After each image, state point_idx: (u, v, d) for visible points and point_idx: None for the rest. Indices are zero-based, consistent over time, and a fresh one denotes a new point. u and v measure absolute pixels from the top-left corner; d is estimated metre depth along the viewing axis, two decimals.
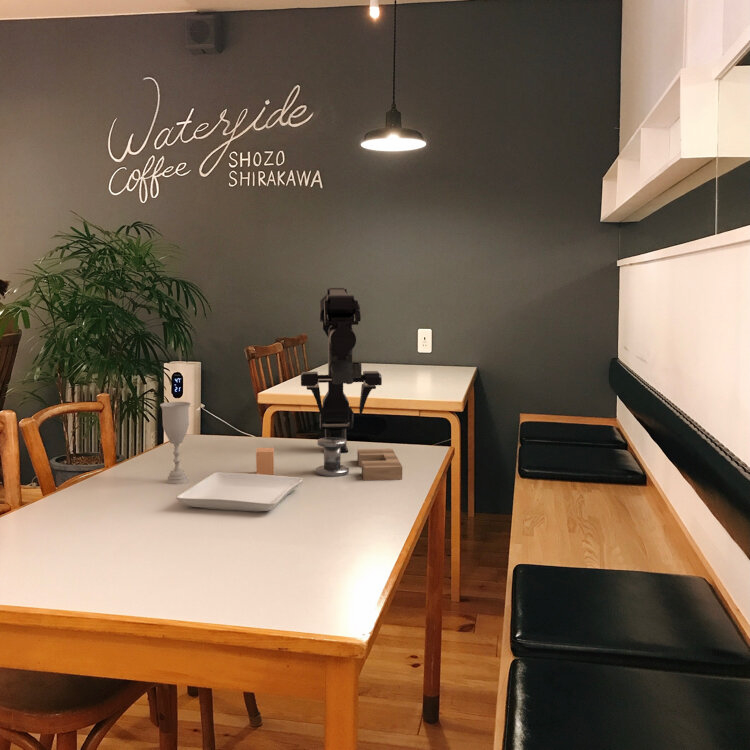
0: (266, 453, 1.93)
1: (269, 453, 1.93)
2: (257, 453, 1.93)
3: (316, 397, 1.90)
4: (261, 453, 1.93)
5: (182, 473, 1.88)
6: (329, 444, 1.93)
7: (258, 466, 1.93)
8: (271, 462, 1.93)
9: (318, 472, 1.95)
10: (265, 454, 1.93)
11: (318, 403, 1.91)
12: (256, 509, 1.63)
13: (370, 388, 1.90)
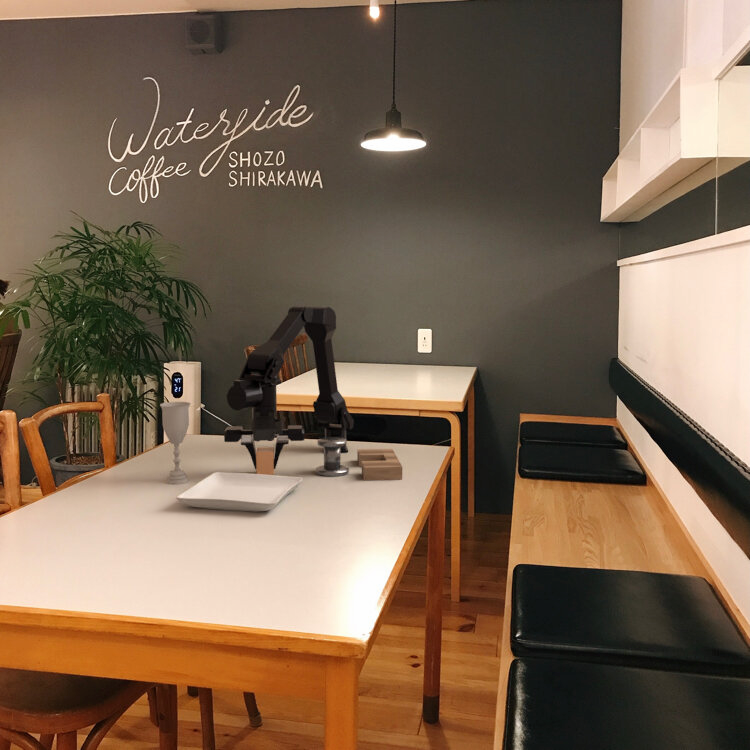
0: (266, 453, 1.93)
1: (269, 453, 1.93)
2: (257, 453, 1.93)
3: (250, 452, 1.94)
4: (261, 453, 1.93)
5: (182, 473, 1.88)
6: (329, 444, 1.93)
7: (258, 465, 1.93)
8: (271, 462, 1.93)
9: (318, 472, 1.95)
10: (265, 454, 1.93)
11: (252, 458, 1.94)
12: (256, 509, 1.63)
13: (282, 444, 1.93)
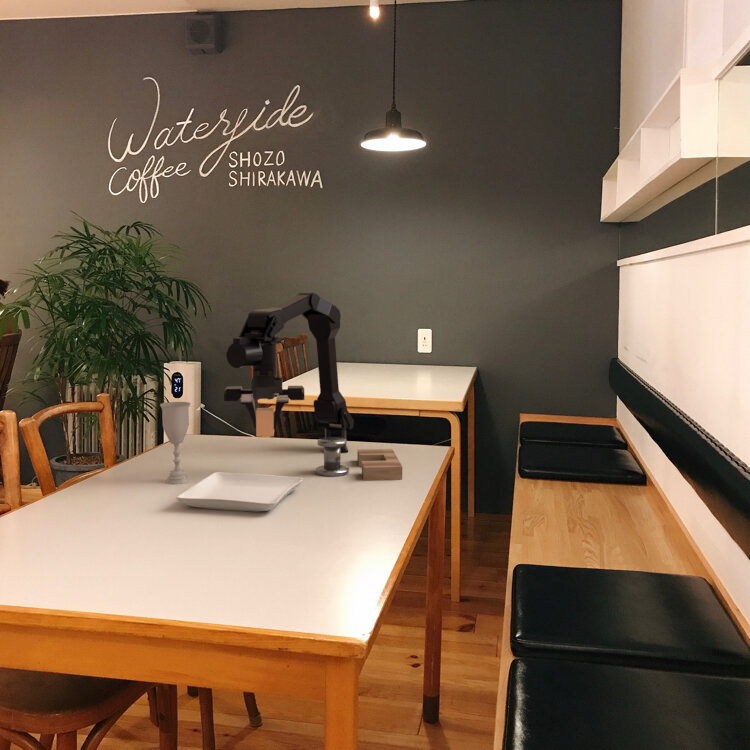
0: (266, 412, 1.92)
1: (269, 412, 1.92)
2: (257, 412, 1.92)
3: (250, 411, 1.93)
4: (261, 412, 1.92)
5: (182, 473, 1.88)
6: (329, 444, 1.93)
7: (258, 425, 1.92)
8: (271, 421, 1.92)
9: (318, 472, 1.95)
10: (265, 413, 1.92)
11: (252, 417, 1.93)
12: (256, 509, 1.63)
13: (282, 403, 1.92)
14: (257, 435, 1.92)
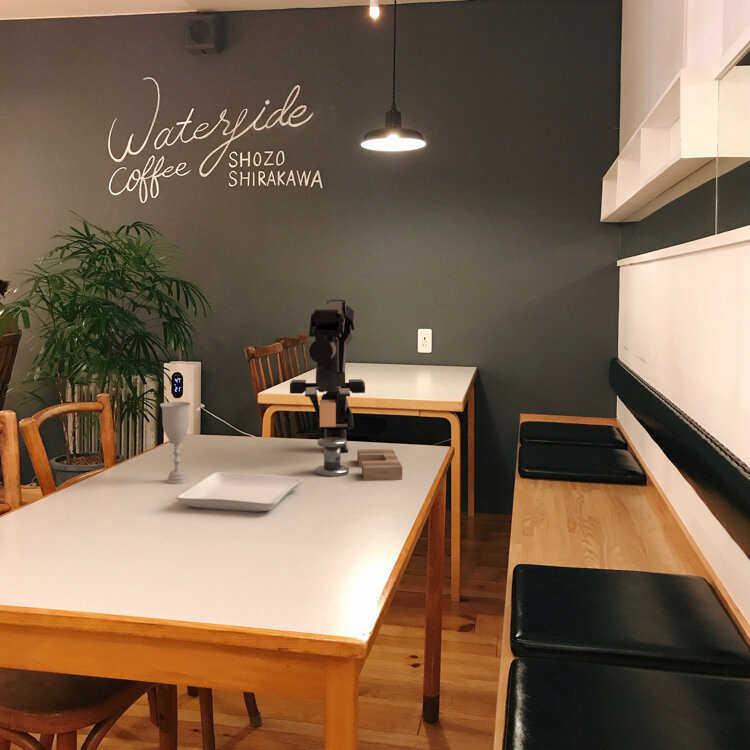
0: (329, 404, 2.04)
1: (332, 404, 2.04)
2: (320, 404, 2.04)
3: (314, 403, 2.05)
4: (324, 404, 2.04)
5: (182, 473, 1.88)
6: (329, 444, 1.93)
7: (321, 416, 2.04)
8: (333, 413, 2.04)
9: (318, 472, 1.95)
10: (328, 405, 2.04)
11: (316, 409, 2.05)
12: (256, 509, 1.63)
13: (344, 395, 2.04)
14: (320, 425, 2.04)
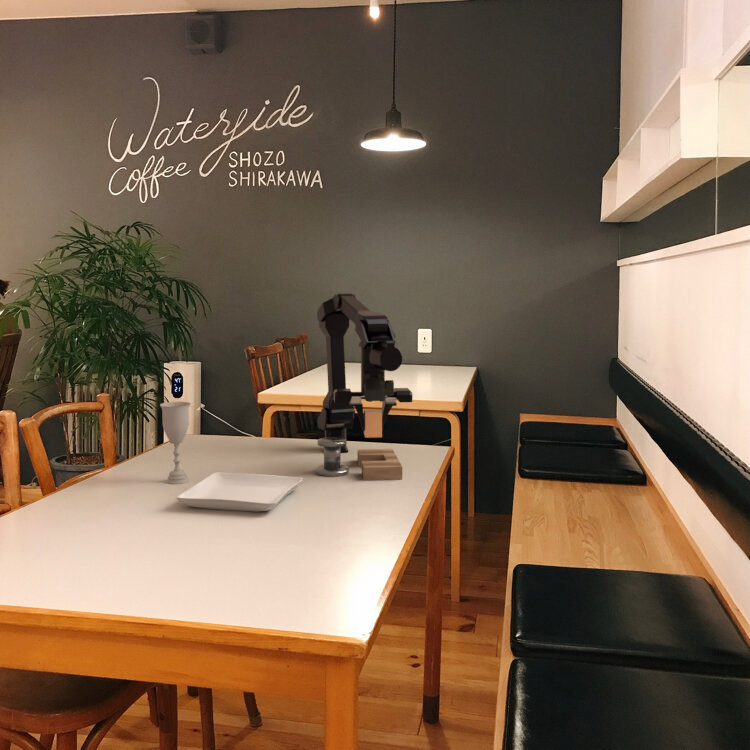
0: (375, 414, 1.96)
1: (378, 414, 1.96)
2: (366, 414, 1.96)
3: (359, 413, 1.97)
4: (370, 414, 1.96)
5: (182, 473, 1.88)
6: (329, 444, 1.93)
7: (367, 426, 1.96)
8: (380, 423, 1.97)
9: (318, 472, 1.95)
10: (374, 415, 1.96)
11: (361, 419, 1.98)
12: (256, 509, 1.63)
13: (391, 405, 1.96)
14: (366, 436, 1.97)
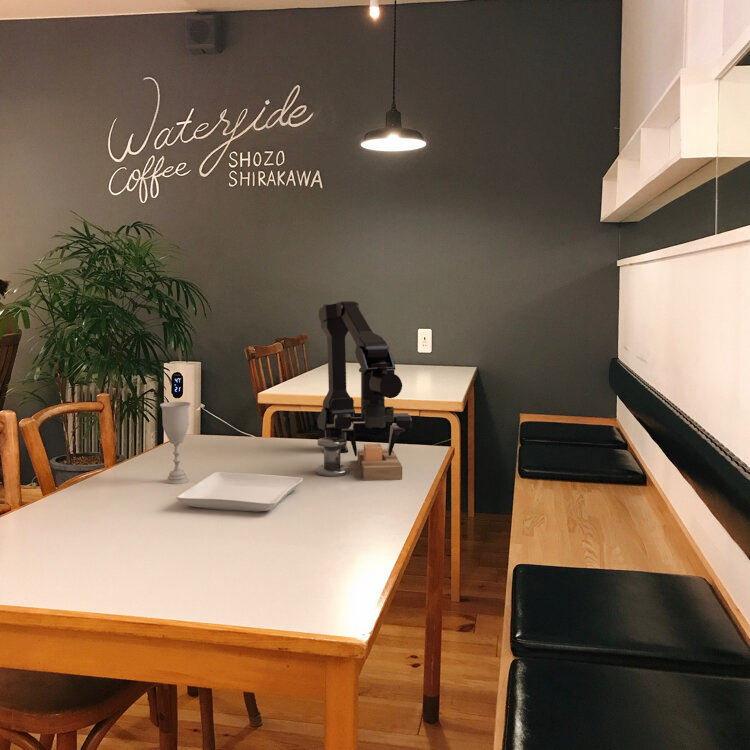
0: (375, 449, 1.97)
1: (378, 449, 1.97)
2: (367, 449, 1.97)
3: (351, 439, 1.98)
4: (370, 449, 1.97)
5: (182, 473, 1.88)
6: (329, 444, 1.93)
7: None
8: (380, 458, 1.98)
9: (318, 472, 1.95)
10: (374, 450, 1.97)
11: (353, 445, 1.98)
12: (256, 509, 1.63)
13: (399, 431, 1.97)
14: None
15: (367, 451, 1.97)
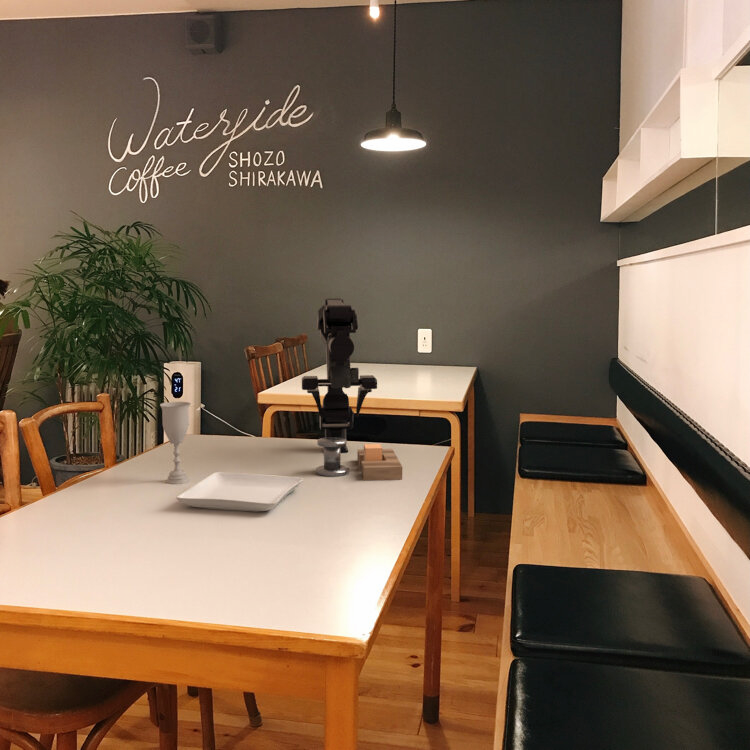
0: (375, 449, 1.97)
1: (378, 449, 1.97)
2: (367, 449, 1.97)
3: (316, 400, 2.04)
4: (370, 449, 1.97)
5: (182, 473, 1.88)
6: (329, 444, 1.93)
7: None
8: (380, 458, 1.98)
9: (318, 472, 1.95)
10: (374, 450, 1.97)
11: (318, 405, 2.05)
12: (256, 509, 1.63)
13: (366, 391, 2.04)
14: None
15: (367, 451, 1.97)
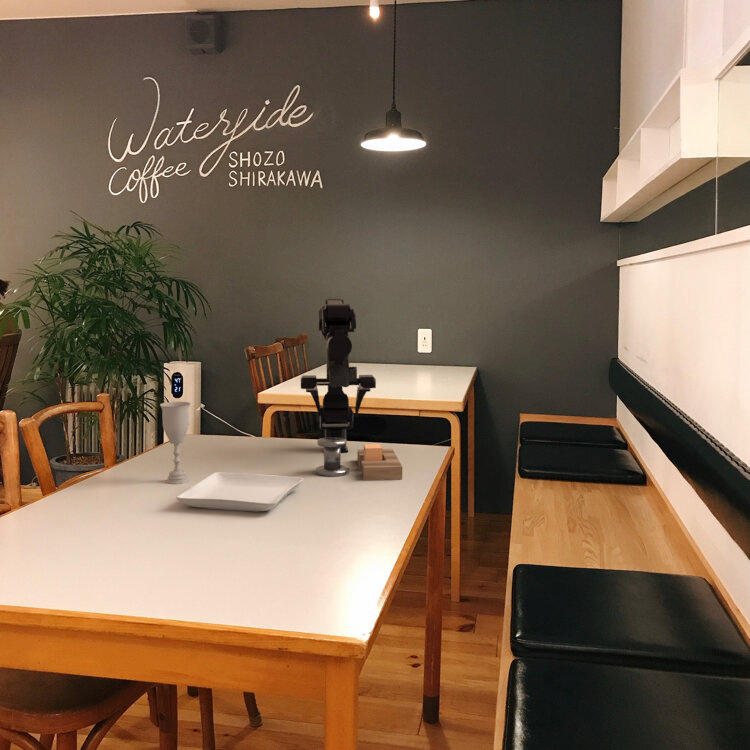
0: (375, 449, 1.97)
1: (378, 449, 1.97)
2: (367, 449, 1.97)
3: (315, 399, 2.05)
4: (370, 449, 1.97)
5: (182, 473, 1.88)
6: (329, 444, 1.93)
7: None
8: (380, 458, 1.98)
9: (318, 472, 1.95)
10: (374, 450, 1.97)
11: (317, 405, 2.05)
12: (256, 509, 1.63)
13: (365, 391, 2.04)
14: None
15: (367, 451, 1.97)
